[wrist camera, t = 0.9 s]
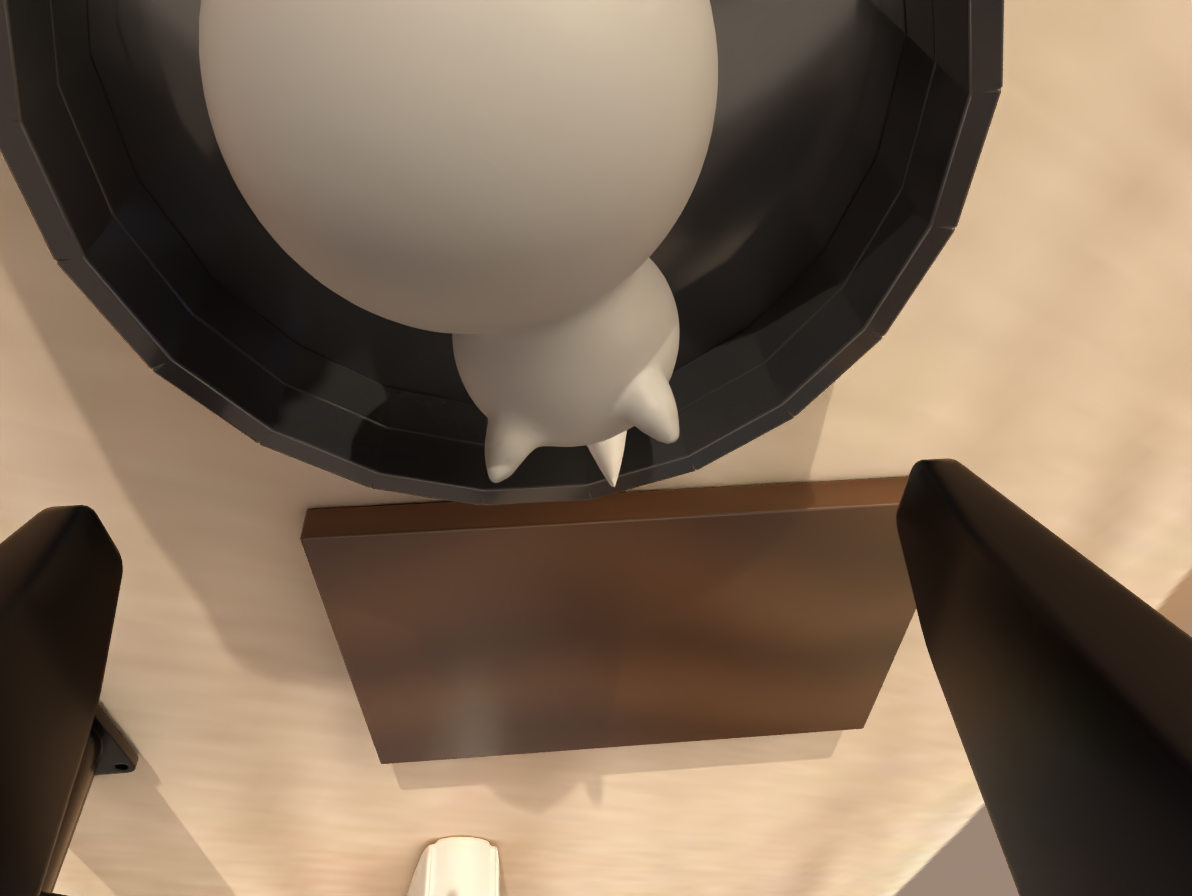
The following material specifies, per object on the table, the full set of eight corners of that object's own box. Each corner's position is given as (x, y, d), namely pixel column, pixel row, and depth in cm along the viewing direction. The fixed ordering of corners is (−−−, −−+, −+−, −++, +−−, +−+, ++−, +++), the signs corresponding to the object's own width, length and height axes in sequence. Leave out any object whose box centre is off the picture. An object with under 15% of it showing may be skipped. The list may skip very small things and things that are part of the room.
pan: (834, 397, 24) (873, 485, 22) (217, 427, 23) (182, 523, 21) (1066, -505, 12) (1211, -543, 10) (-169, -527, 11) (-361, -575, 9)
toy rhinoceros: (450, 367, 22) (431, 648, 16) (193, -187, 14) (-54, -51, 8) (723, 300, 21) (813, 567, 15) (620, -330, 13) (725, -304, 7)
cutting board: (855, 703, 36) (863, 729, 36) (383, 737, 35) (380, 765, 34) (950, 472, 27) (964, 500, 26) (305, 508, 26) (299, 538, 25)
